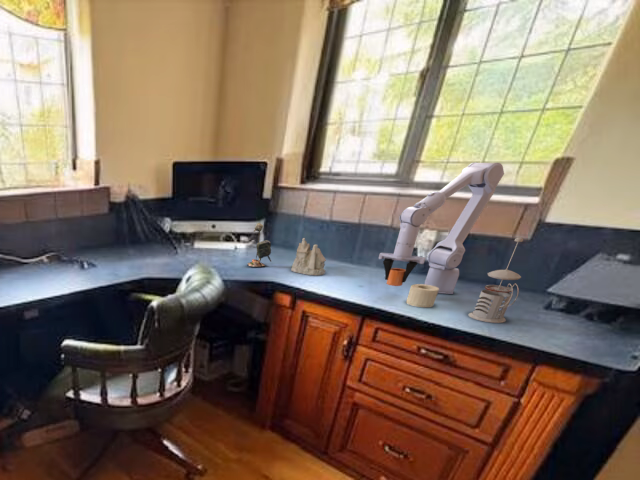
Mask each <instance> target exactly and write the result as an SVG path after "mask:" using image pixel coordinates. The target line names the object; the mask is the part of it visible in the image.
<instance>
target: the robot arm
mask: <svg viewBox="0 0 640 480" xmlns="http://www.w3.org/2000/svg"><path fill="white" fill-rule="evenodd" d="M504 175H505V170H504V165H503V164H502V163H501V162H477V161H476V162H471V163H470V164H468V165H466V167H464V168H462V170H461V172H460V173H459V174H458V175H457V176H456V177H454V179H452V180H451V181H449V182H448V183H447V184H446V185H445V186H444V187H442V188H441V189H440V190H439V191H436V190H435V191H434V190H433V192H432V191H430V192H429V193H427V196H426V197H424V198H422V199H421V200H420V201H417V202H416V203H415V204H414V205H412V206H409V207H406V208H405V209H404V210H403V211H402V212H401V214H399V217H398V220H399V222H400V224H399V228H400V229H399V233H398V236H397V239H396V243H395V247H394V250H393V253H391V252H380V253H379V255H378V260H383V261H382V264H383V267H384V274H385V276H384V280H386V281H387V279H388V275H389V271H390V269H391V268H393V265H394V262H395V261H397V262H398V261H399V262H407V263H406V267H405V270H406V271H405V275H404V277H403V280H402V282H403V283H405V282H407V279H408V277H409V276H410V275H411V273H412V271H413V270H414V269H415V268H416V266H417V265H418V264H419V265H424V264H425V261H426V257H423V256H417V255H413V251H414V247H415V244H416V241H417V238H418V234H419V231H420V227H421V225H423V224H424V223H425V222H427V219H428V217H430V216H431V215H432V213H434V212H435V211H437V210H438V209H440V208H441V207H442V206H444V205H445V202H446V199H448V198H450V197H451V196H452V195H454V194H456V193H457V192H459V191H460V190H462V189H464V188H465V187H468V188H469V190H470V191H471V197H470V198H469V199H468V201H467V203H466V205H465V207H464V208H463V209H462V211H461V213H460V214H459V216H458V218H457V220H456V221H455V223H454V225H453V226H452V228H451V230H450V231H449V233H448V235H447V236H446V238H445V239H443V240H441V241H438V242H437V243H436V244H435V246H434V247H433V248H432V249H431V250H430V251H429V253H428V254H427V262H428V266H429V268H428V271H427V274H426V277H425V280H424V284H426V285H432V286H435V287H438V288H439V291H438V293H437V294H443V295H444V294H445V295H446V294H447V295H453V294H454V290H455V288H456V285H457V283H458V280H459V277H460V269H459V268H457V267H458V266H459V265H460V264H461V262H462V259H463V256H464V254H465V252H466V248H465V246H464V244H463V243H464V242H465V240H466V239H467V237H468V235H469V234H470V232H471V231H472V229H473V227H474V226H475V224H476V222H477V221H478V219H479V218H480V216H481V215H482V213H483V212H484V210H485V208H486V207H487V205H488V204H489V202H490V200H491V198H492V197H493V195H494V193H495V191H496V188H497V186H498V184H499V183H500V181H501V180H502V178H503V176H504Z"/></svg>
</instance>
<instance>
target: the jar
mask: <svg viewBox="0 0 640 480" xmlns="http://www.w3.org/2000/svg"><path fill="white" fill-rule="evenodd" d="M438 291H439V288H438V287H435V286H432V285H426V284H423V283H415V284H412V285H411V286H410V288H409V292H408V295H407V298H406V302H405V303H406V304H407V305H409V306H412V307H416V308H432V307H434V304H435V302H436V300H437V296H438V294H439V293H438Z"/></svg>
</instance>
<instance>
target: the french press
mask: <svg viewBox="0 0 640 480" xmlns="http://www.w3.org/2000/svg"><path fill="white" fill-rule="evenodd" d="M513 241H514V242H516V244H515V246H514V250H513V252H512V254H511V257H510V258H509V261H508V264H507V266H506V268H505V269H496V270H492V271H490V272H487V276H488V277H490V278H493V279H497V280H500V283H499V284H498V285H497V284H486V285H484V289H482V290H481V291H480V294H479V296H478V297H479V298H478V299H477V303H476V304H475V305H476V306H474V310H473V311H472V312H469V313H468V314H467V315H468V317H469V318H471V319H473V320H477V321H480V322H486V323H493V324H494V323H495V324H500V323H501V324H502V323H506V321H507V320H506V318H505V314H506V312H507V309H508V307H511V306H512V305H514V303H515V302H517V299H518V296H519V294H520V293H519V292H520V291H519V290H520V289H519V285H518V284H517V283H515V282H514V284H513V285H512V284H511V283H510V282H509V283H508V284H507V286H504V285H502V283H503V281H505V280H506V281H517V280H520V279H521V278H522V276H521V275H520V274H519V273H517V272H515V271H513V270H510V269H508V268H509V266H510V263H511V262H512V260H513V257H514V254H515V252H516V249H517V246H518V244H519V243H522V242H524V238H523V237H521V236H519V237H516V238H515V239H514V240H513ZM515 286H516V289H517V291H516V292H517V293H516V297H515V299H514V300H513V302H511V300H512V298H513V295H514V287H515ZM510 302H511V304H510Z"/></svg>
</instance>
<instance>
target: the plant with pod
mask: <svg viewBox="0 0 640 480" xmlns="http://www.w3.org/2000/svg"><path fill="white" fill-rule="evenodd" d="M263 228H264V225H263V224H262V223H261V222H257V223H256V225H255V227H254V230H253V233H254V232H256V231H257V232H258V237H257V238H258V239H257V244H256V247H255V249H256V256H255V258H252V260H251V261H249V262H247V266H249V267H259V268H260V267H266V265H265V263H263V262H261V260H262V259H263V258H265V257H267V259H268V260H269V262H271V263H272V259H271V258H270V255H271V254H272V249H271V247H272V243H271V241H270V240H267V239H266V240H261V241H260V235H261V232H262V230H263ZM257 257H258V259H257Z"/></svg>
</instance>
